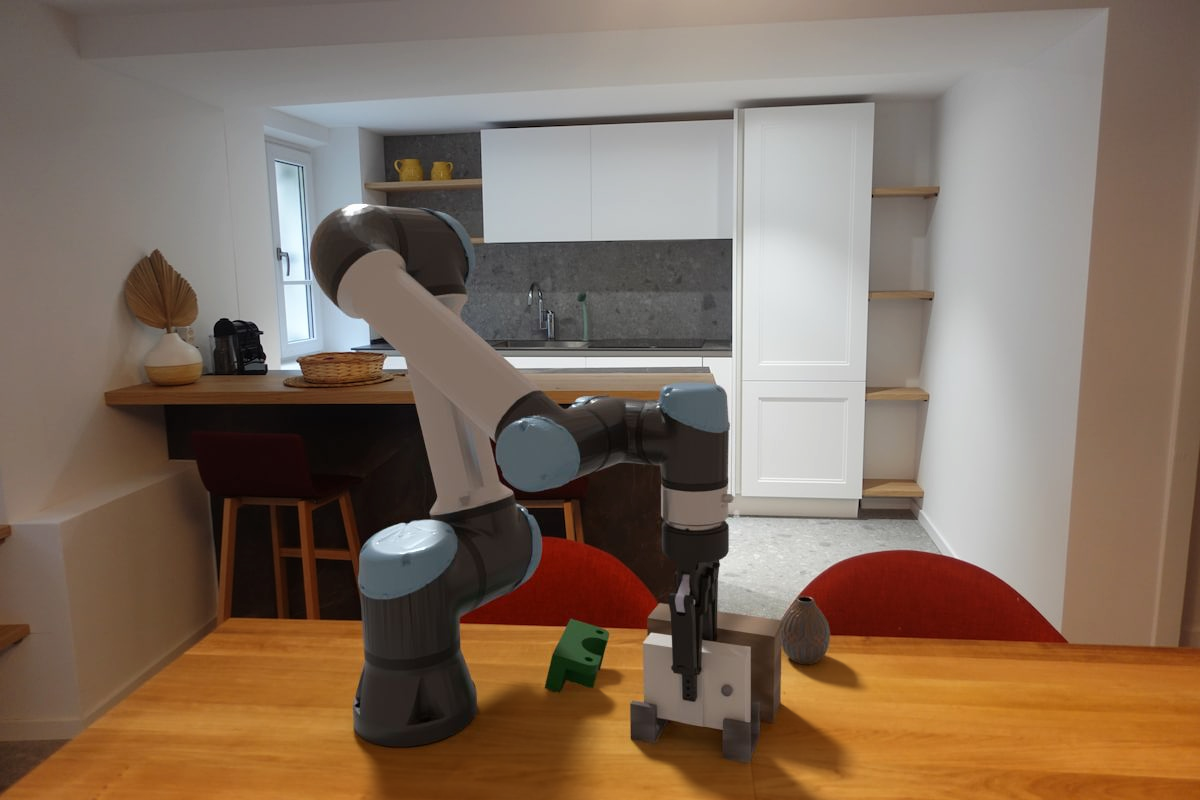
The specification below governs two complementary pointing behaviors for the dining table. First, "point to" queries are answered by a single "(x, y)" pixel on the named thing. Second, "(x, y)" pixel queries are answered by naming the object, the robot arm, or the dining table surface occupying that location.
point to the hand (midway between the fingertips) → (696, 714)
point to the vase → (805, 632)
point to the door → (721, 680)
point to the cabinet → (764, 680)
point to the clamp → (577, 656)
